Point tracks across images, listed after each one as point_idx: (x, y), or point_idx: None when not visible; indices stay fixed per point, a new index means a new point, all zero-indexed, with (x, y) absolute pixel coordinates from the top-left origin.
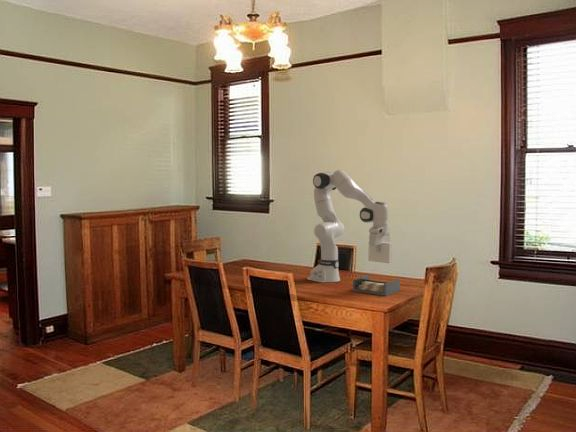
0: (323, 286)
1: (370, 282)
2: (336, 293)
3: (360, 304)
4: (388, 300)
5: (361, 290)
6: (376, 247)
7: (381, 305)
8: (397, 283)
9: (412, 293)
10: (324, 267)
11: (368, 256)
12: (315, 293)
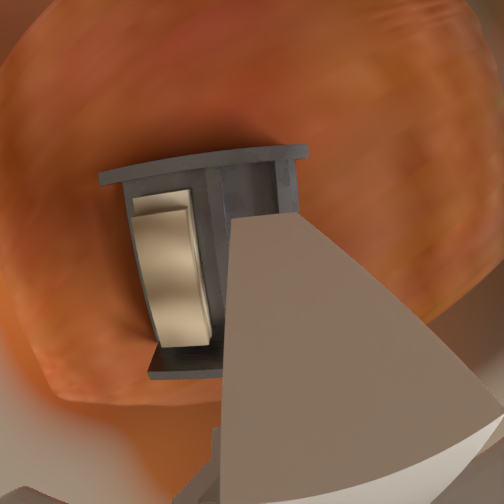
0: (135, 4)
1: (171, 258)
2: (51, 149)
3: (24, 330)
4: (123, 375)
5: (129, 224)
6: (188, 494)
7: (66, 381)
8: None
9: None
10: None
11: (231, 232)
12: (14, 98)
